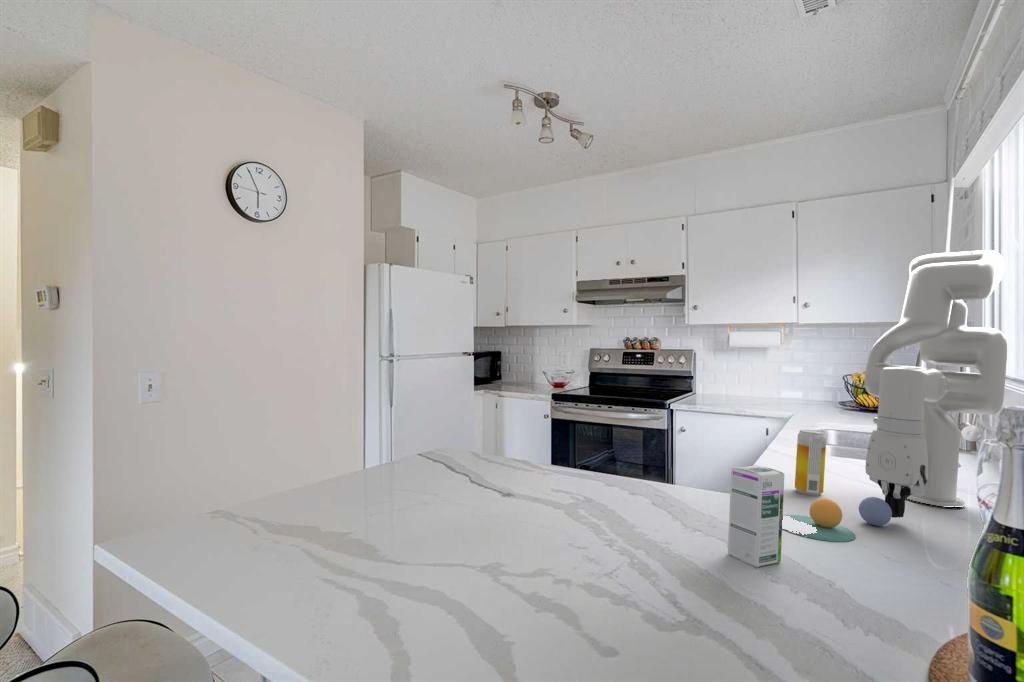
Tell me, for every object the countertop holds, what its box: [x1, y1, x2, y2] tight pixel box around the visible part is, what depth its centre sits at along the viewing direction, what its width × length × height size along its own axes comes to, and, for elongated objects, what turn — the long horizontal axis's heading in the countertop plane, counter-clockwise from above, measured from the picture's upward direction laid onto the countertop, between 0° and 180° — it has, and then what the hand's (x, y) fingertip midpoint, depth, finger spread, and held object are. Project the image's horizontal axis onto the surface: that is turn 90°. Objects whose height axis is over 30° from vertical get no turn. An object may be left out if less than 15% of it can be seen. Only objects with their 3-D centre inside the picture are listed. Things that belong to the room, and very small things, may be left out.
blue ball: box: [858, 496, 893, 527], centre depth 106 cm, size 6×6×6 cm
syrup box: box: [727, 464, 785, 568], centre depth 85 cm, size 6×6×14 cm
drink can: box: [794, 429, 827, 497], centre depth 128 cm, size 6×6×15 cm
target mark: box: [785, 514, 857, 543], centre depth 102 cm, size 14×14×1 cm
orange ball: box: [809, 498, 843, 528], centre depth 102 cm, size 6×6×6 cm
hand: (894, 515), depth 108 cm, fingers closed
